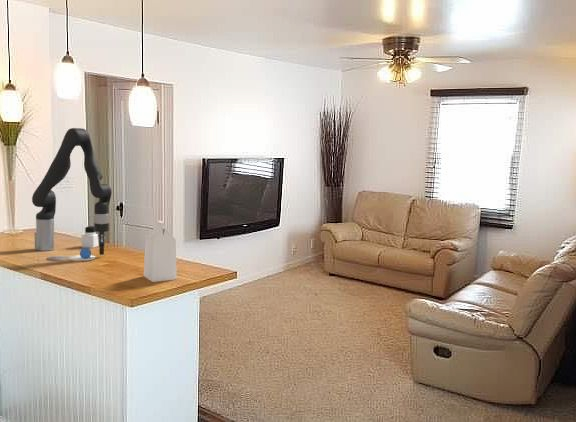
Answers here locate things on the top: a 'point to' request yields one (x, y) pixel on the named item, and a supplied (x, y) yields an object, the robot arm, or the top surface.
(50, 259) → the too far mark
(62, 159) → the robot arm
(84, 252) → the ball
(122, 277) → the top surface
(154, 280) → the milk
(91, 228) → the medicine bottle
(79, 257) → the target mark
